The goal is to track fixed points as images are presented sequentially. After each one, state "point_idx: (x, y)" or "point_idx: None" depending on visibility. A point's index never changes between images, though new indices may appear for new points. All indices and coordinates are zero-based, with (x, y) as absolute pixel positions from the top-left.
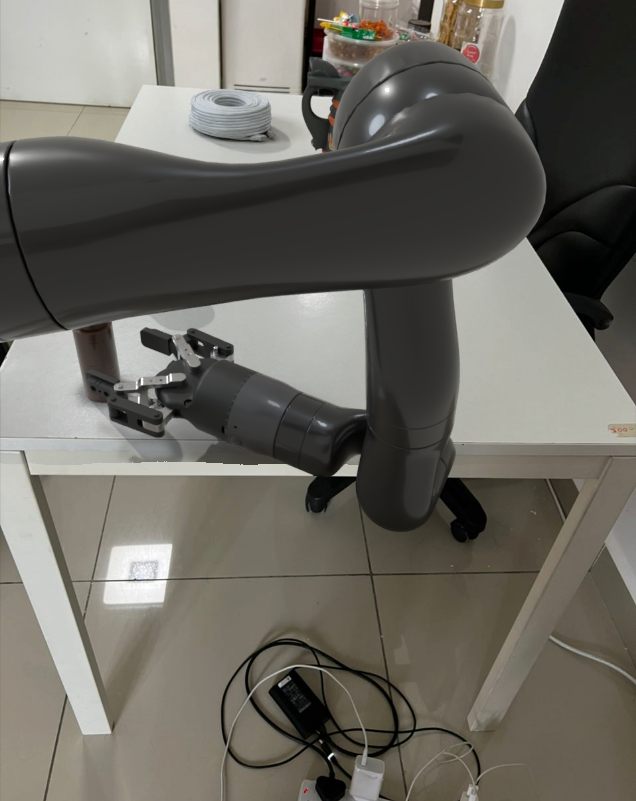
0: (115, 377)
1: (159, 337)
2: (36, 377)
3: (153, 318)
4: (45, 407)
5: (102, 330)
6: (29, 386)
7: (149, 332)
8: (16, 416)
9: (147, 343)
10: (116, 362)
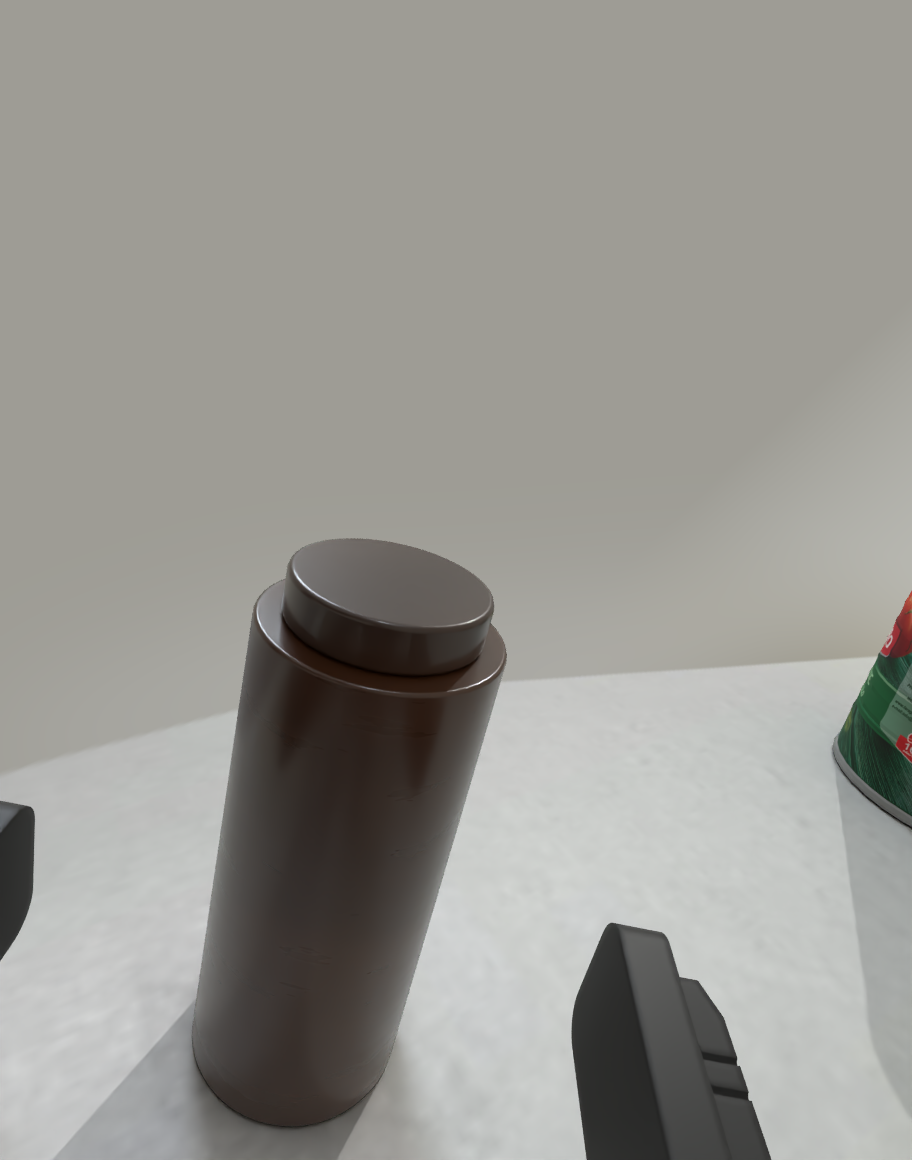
0: (299, 1023)
1: (654, 1105)
2: None
3: (866, 982)
4: (105, 852)
5: (337, 674)
6: (225, 767)
7: (636, 988)
8: (30, 790)
9: (587, 1044)
10: (351, 953)
